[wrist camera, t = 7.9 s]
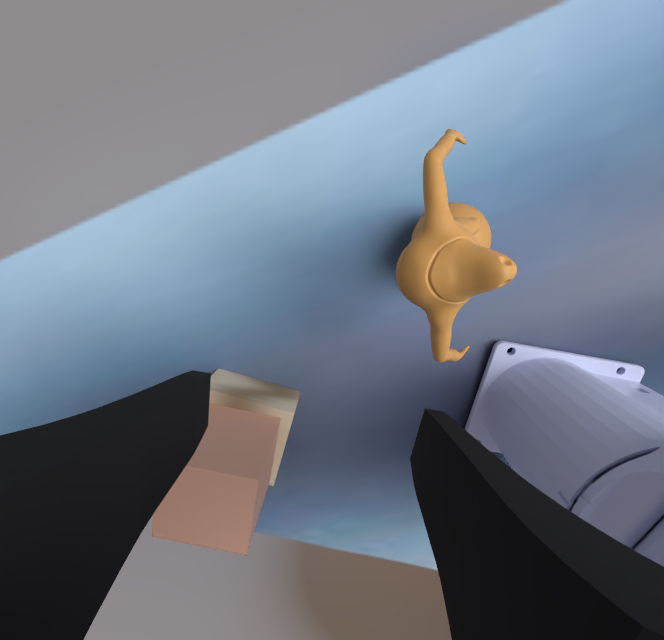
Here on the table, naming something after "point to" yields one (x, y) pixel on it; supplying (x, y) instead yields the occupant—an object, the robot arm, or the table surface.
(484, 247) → the figurine
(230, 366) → the table surface
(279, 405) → the birch base block
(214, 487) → the terracotta cube
